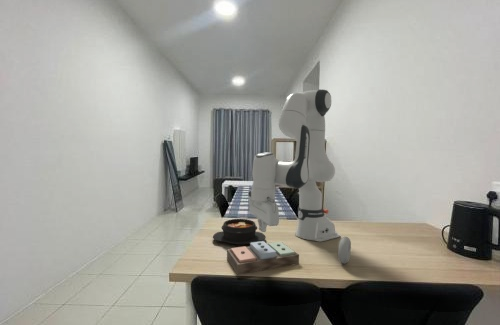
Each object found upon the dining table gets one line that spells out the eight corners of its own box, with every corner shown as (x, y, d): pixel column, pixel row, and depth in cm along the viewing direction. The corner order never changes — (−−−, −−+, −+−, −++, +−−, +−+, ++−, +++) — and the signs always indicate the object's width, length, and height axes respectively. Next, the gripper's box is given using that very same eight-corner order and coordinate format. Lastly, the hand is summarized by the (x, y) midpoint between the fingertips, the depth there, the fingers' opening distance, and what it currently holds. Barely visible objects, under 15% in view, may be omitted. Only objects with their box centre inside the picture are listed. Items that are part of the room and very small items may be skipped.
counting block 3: (280, 249, 102) (280, 240, 102) (294, 260, 92) (294, 251, 92) (267, 251, 100) (268, 242, 100) (280, 262, 90) (280, 253, 90)
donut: (346, 269, 88) (347, 242, 87) (336, 266, 90) (337, 240, 89) (351, 259, 96) (352, 234, 96) (342, 256, 98) (343, 232, 98)
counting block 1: (245, 254, 96) (245, 245, 96) (255, 266, 86) (255, 256, 86) (230, 256, 94) (230, 247, 94) (239, 269, 84) (239, 259, 84)
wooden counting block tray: (281, 250, 104) (282, 242, 104) (298, 263, 91) (299, 254, 91) (226, 258, 95) (227, 249, 95) (237, 274, 82) (237, 264, 82)
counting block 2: (263, 248, 99) (263, 240, 99) (275, 260, 89) (275, 250, 89) (249, 250, 97) (250, 242, 97) (260, 262, 87) (261, 252, 87)
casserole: (209, 247, 105) (210, 228, 105) (215, 233, 124) (215, 217, 123) (267, 248, 105) (267, 229, 105) (264, 234, 124) (264, 217, 123)
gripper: (284, 199, 83) (282, 239, 84) (260, 190, 102) (259, 222, 103) (267, 200, 81) (266, 241, 82) (246, 191, 100) (245, 224, 101)
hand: (262, 230), depth 92 cm, fingers closed
